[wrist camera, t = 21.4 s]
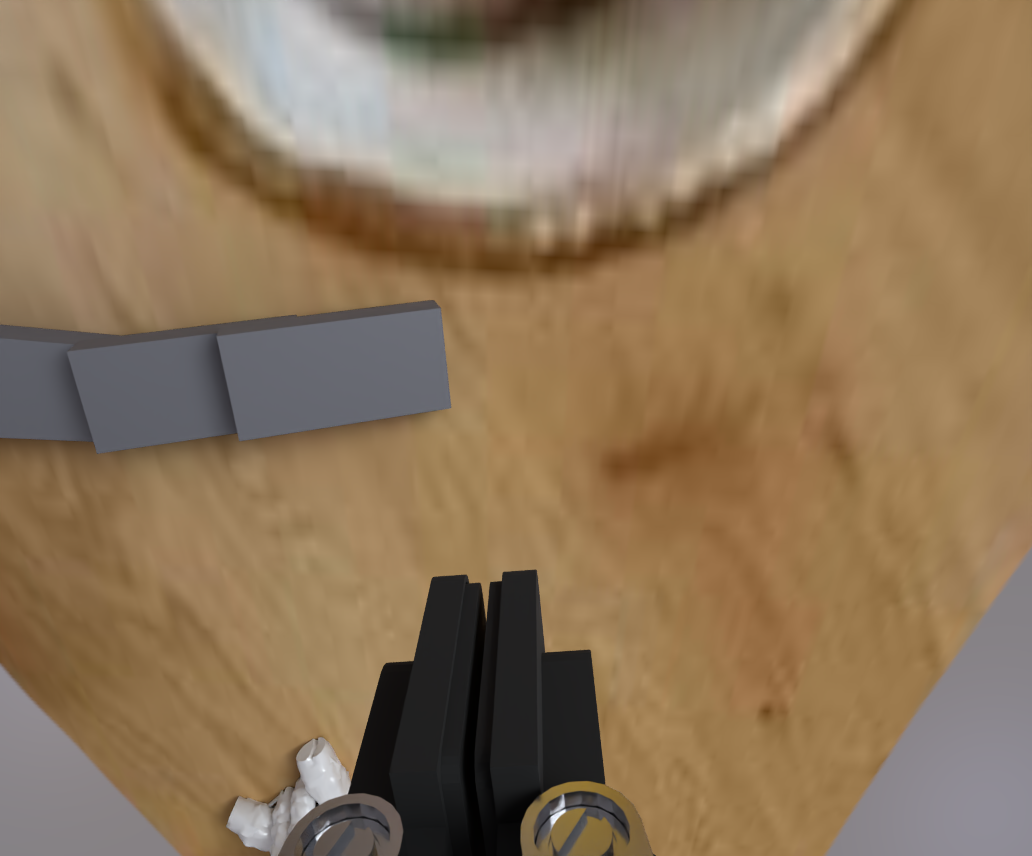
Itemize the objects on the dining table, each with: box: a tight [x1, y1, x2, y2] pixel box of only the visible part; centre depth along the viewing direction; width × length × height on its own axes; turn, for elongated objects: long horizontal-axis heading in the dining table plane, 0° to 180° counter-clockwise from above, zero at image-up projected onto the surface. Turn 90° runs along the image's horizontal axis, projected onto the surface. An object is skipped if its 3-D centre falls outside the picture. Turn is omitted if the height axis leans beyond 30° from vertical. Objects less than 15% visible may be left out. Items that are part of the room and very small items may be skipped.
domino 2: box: [67, 315, 297, 454], centre depth 37 cm, size 2×5×10 cm
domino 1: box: [0, 325, 119, 442], centre depth 37 cm, size 2×5×10 cm
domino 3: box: [217, 300, 451, 441], centre depth 36 cm, size 2×5×10 cm
